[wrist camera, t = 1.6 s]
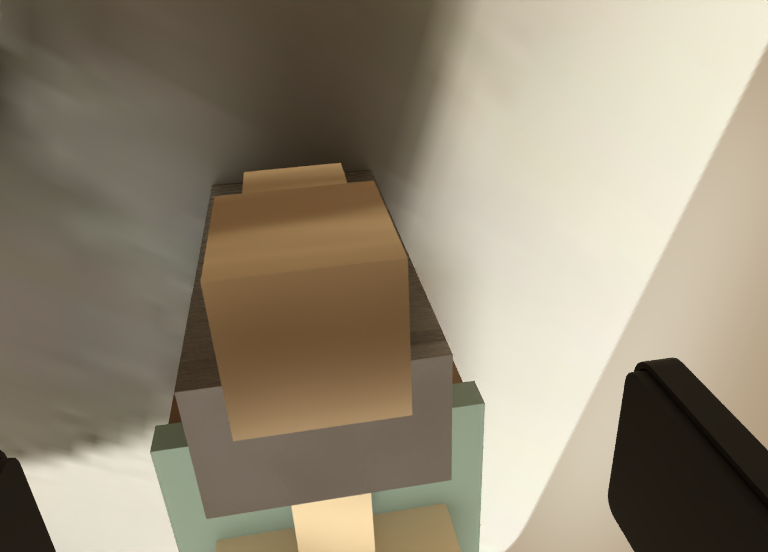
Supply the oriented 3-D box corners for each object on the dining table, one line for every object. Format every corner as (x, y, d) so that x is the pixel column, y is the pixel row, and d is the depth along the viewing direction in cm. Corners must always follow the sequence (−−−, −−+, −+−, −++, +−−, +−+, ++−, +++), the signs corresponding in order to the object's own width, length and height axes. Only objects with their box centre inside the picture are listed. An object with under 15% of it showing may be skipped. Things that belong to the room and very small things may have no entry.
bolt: (218, 172, 16) (200, 282, 11) (364, 158, 16) (407, 258, 12) (280, 526, 22) (285, 698, 17) (385, 510, 22) (419, 671, 18)
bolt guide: (212, 185, 27) (174, 392, 15) (370, 170, 28) (452, 354, 16) (228, 275, 29) (206, 519, 17) (375, 258, 30) (451, 480, 18)
